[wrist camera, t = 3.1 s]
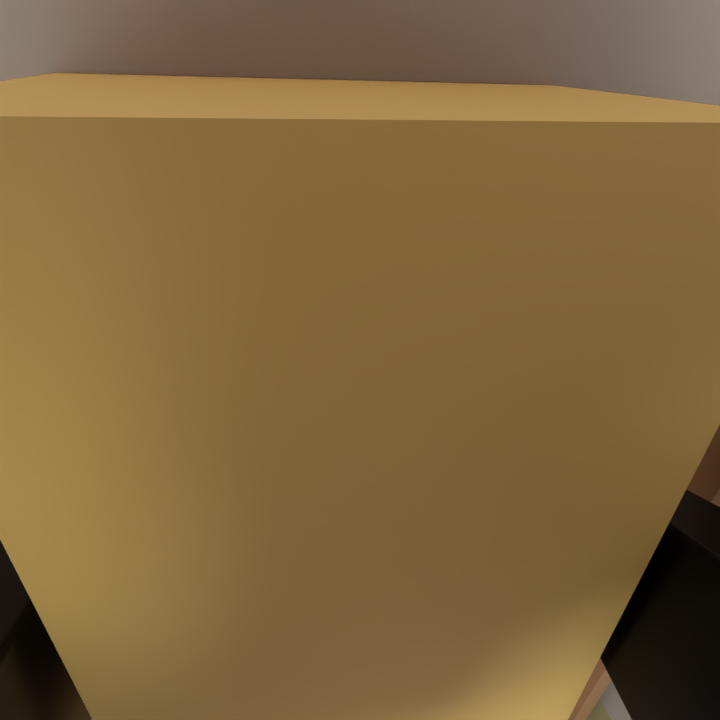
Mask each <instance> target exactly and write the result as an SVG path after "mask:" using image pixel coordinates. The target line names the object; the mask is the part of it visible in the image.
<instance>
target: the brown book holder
mask: <svg viewBox="0 0 720 720" xmlns="http://www.w3.org/2000/svg"><path fill="white" fill-rule="evenodd" d="M687 490H689V491H691V492H692V493H694V494H696V495H698V496H700V497H702V498H704V499H706V500H708V501H709V502H711V503H713V504H715V505H717V506H719V507H720V425H719V427H718V429H717V431H716V433H715V435H714V437H713V439H712V440H711V442H710V444H709V446H708V448H707V450H706V452H705V454H704V456H703V458H702V460H701V462H700V464H699V466H698V468H697V470H696V472H695V474H694V475H693V477H692V479H691V481H690V483H689V485H688V487H687ZM568 720H631V718H630V716H629V714H628V712H627V710H626V708H625V706H624V704H623V702H622V700H621V698H620V696H619V694H618V692H617V690H616V688H615V686H614V684H613V682H612V680H611V679H610V677H609V675H608V673H607V671H606V669H605V667H604V665H603V663H602V661H601V659H600V658H599V660H598V662H597V664H596V666H595V668H594V670H593V672H592V674H591V676H590V678H589V680H588V682H587V684H586V686H585V688H584V690H583V692H582V693H581V695H580V697H579V699H578V701H577V703H576V705H575V707H574V709H573V711H572V713H571V715H570V717H569V719H568Z"/></svg>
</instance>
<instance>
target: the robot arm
mask: <svg viewBox="0 0 720 720" xmlns="http://www.w3.org/2000/svg"><path fill="white" fill-rule="evenodd" d="M600 659H601V661H602V663H603V665H604V667H605V669H606V671H607V673H608V675H609V677H610V679H611V680H612V682H613V684H614V686H615V688H616V690H617V692H618V694H619V696H620V698H621V700H622V702H623V704H624V706H625V708H626V710H627V712H628V714H629V716H630V718H631V720H720V507H719V506H717V505H715V504H713V503H711V502H709V501H708V500H706V499H704V498H702V497H700V496H698V495H696V494H694V493H692V492H691V491H689V490H687V489H686V491H685V493H684V495H683V497H682V499H681V501H680V503H679V505H678V507H677V509H676V511H675V512H674V514H673V516H672V518H671V520H670V522H669V524H668V526H667V528H666V530H665V532H664V534H663V536H662V538H661V540H660V542H659V544H658V546H657V548H656V549H655V551H654V553H653V555H652V557H651V559H650V561H649V563H648V565H647V567H646V569H645V571H644V573H643V575H642V577H641V579H640V581H639V583H638V584H637V586H636V588H635V590H634V592H633V594H632V596H631V598H630V600H629V602H628V604H627V606H626V608H625V610H624V612H623V614H622V616H621V618H620V620H619V621H618V623H617V625H616V627H615V629H614V631H613V633H612V635H611V637H610V639H609V641H608V643H607V645H606V647H605V649H604V651H603V653H602V655H601V657H600ZM0 720H92V718H91V716H90V714H89V712H88V710H87V708H86V706H85V704H84V702H83V700H82V698H81V697H80V695H79V693H78V691H77V689H76V687H75V685H74V683H73V681H72V679H71V677H70V675H69V673H68V671H67V669H66V667H65V665H64V663H63V661H62V659H61V657H60V655H59V654H58V652H57V650H56V648H55V646H54V644H53V642H52V640H51V638H50V636H49V634H48V632H47V630H46V628H45V626H44V624H43V622H42V620H41V618H40V616H39V614H38V612H37V611H36V609H35V607H34V605H33V603H32V601H31V599H30V597H29V595H28V593H27V591H26V589H25V587H24V585H23V583H22V581H21V579H20V577H19V575H18V573H17V571H16V569H15V568H14V566H13V564H12V562H11V560H10V558H9V556H8V554H7V552H6V550H5V548H4V546H3V544H2V542H1V540H0Z"/></svg>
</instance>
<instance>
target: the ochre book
mask: <svg viewBox="0 0 720 720" xmlns="http://www.w3.org/2000/svg"><path fill="white" fill-rule="evenodd" d="M719 425H720V105H712V104H703V103H695V102H687V101H679V100H670V99H662V98H654V97H646V96H637V95H629V94H621V93H612V92H604V91H596V90H588V89H579V88H571V87H563V86H554V85H521V84H481V83H441V82H400V81H360V80H320V79H279V78H239V77H199V76H158V75H118V74H77V73H50V74H43V75H37V76H30V77H24V78H17V79H11V80H4V81H0V540H1V542H2V544H3V546H4V548H5V550H6V552H7V554H8V556H9V558H10V560H11V562H12V564H13V566H14V568H15V569H16V571H17V573H18V575H19V577H20V579H21V581H22V583H23V585H24V587H25V589H26V591H27V593H28V595H29V597H30V599H31V601H32V603H33V605H34V607H35V609H36V611H37V612H38V614H39V616H40V618H41V620H42V622H43V624H44V626H45V628H46V630H47V632H48V634H49V636H50V638H51V640H52V642H53V644H54V646H55V648H56V650H57V652H58V654H59V655H60V657H61V659H62V661H63V663H64V665H65V667H66V669H67V671H68V673H69V675H70V677H71V679H72V681H73V683H74V685H75V687H76V689H77V691H78V693H79V695H80V697H81V698H82V700H83V702H84V704H85V706H86V708H87V710H88V712H89V714H90V716H91V718H92V720H568V719H569V717H570V715H571V713H572V711H573V709H574V707H575V705H576V703H577V701H578V699H579V697H580V695H581V693H582V692H583V690H584V688H585V686H586V684H587V682H588V680H589V678H590V676H591V674H592V672H593V670H594V668H595V666H596V664H597V662H598V660H599V658H600V657H601V655H602V653H603V651H604V649H605V647H606V645H607V643H608V641H609V639H610V637H611V635H612V633H613V631H614V629H615V627H616V625H617V623H618V621H619V620H620V618H621V616H622V614H623V612H624V610H625V608H626V606H627V604H628V602H629V600H630V598H631V596H632V594H633V592H634V590H635V588H636V586H637V584H638V583H639V581H640V579H641V577H642V575H643V573H644V571H645V569H646V567H647V565H648V563H649V561H650V559H651V557H652V555H653V553H654V551H655V549H656V548H657V546H658V544H659V542H660V540H661V538H662V536H663V534H664V532H665V530H666V528H667V526H668V524H669V522H670V520H671V518H672V516H673V514H674V512H675V511H676V509H677V507H678V505H679V503H680V501H681V499H682V497H683V495H684V493H685V491H686V489H687V487H688V485H689V483H690V481H691V479H692V477H693V475H694V474H695V472H696V470H697V468H698V466H699V464H700V462H701V460H702V458H703V456H704V454H705V452H706V450H707V448H708V446H709V444H710V442H711V440H712V439H713V437H714V435H715V433H716V431H717V429H718V427H719Z"/></svg>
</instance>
